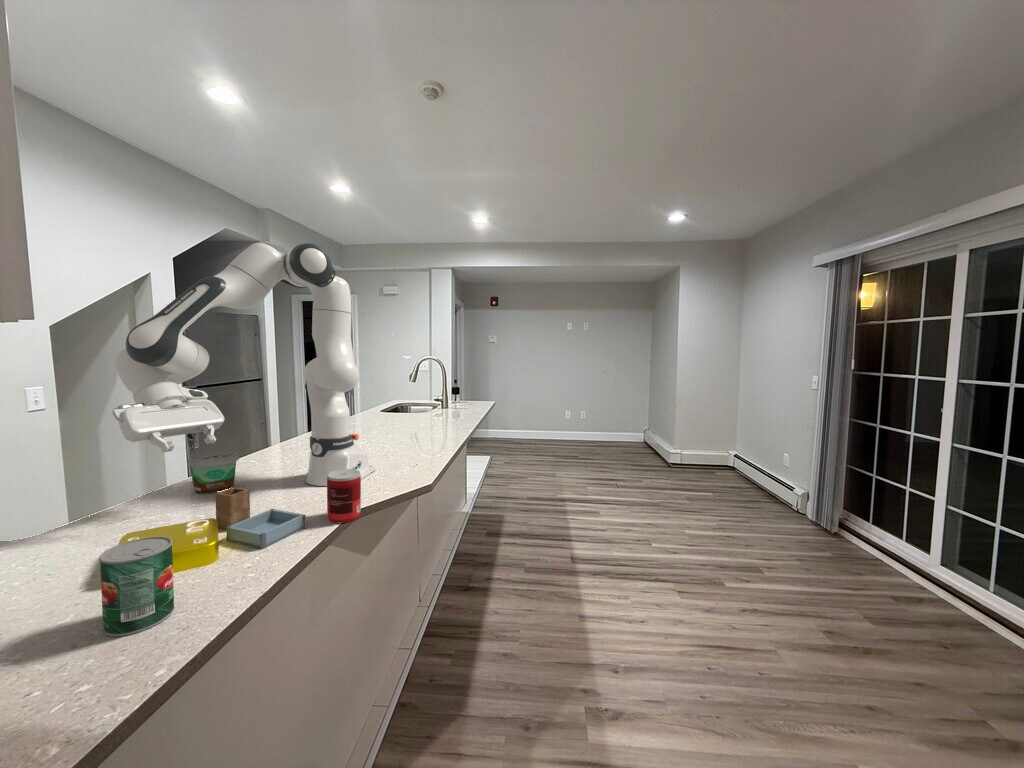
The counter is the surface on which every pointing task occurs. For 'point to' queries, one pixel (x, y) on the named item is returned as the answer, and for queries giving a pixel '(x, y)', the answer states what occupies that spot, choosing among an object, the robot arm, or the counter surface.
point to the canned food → (343, 495)
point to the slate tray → (266, 528)
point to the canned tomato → (136, 585)
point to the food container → (213, 473)
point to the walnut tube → (232, 506)
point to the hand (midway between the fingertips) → (191, 446)
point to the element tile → (186, 542)
